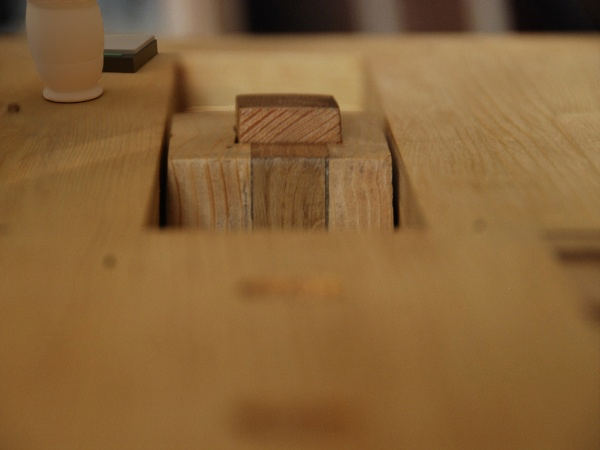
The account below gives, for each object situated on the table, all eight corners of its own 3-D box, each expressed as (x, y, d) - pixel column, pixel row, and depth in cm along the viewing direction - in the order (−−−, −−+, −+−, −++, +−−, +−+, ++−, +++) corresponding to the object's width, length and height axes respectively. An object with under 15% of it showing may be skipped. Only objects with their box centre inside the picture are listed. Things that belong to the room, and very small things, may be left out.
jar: (23, 94, 118) (7, -13, 112) (88, 82, 124) (77, -20, 118) (56, 110, 110) (41, -4, 104) (123, 96, 117) (113, -12, 110)
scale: (75, 71, 130) (73, 51, 129) (104, 51, 143) (102, 33, 142) (134, 72, 129) (132, 52, 128) (157, 53, 142) (156, 34, 141)
